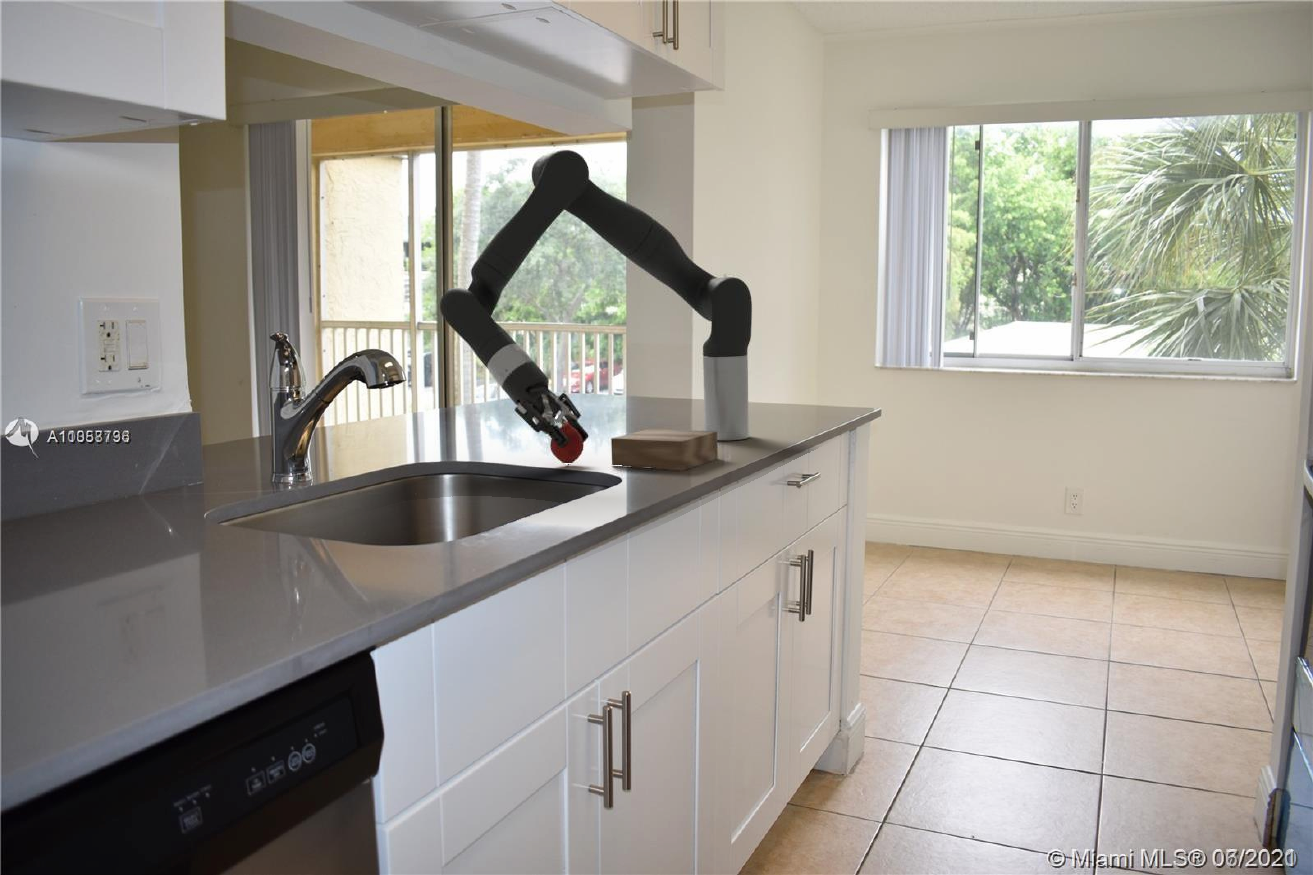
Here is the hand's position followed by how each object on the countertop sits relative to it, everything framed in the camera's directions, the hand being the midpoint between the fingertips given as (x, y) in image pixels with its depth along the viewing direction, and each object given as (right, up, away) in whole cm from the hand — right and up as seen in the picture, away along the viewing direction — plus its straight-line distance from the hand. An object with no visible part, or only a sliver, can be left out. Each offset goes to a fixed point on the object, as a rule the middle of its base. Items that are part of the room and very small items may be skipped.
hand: (575, 442), depth 177 cm
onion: (-1, -4, +1) cm, 5 cm away
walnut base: (+16, -4, +2) cm, 17 cm away
